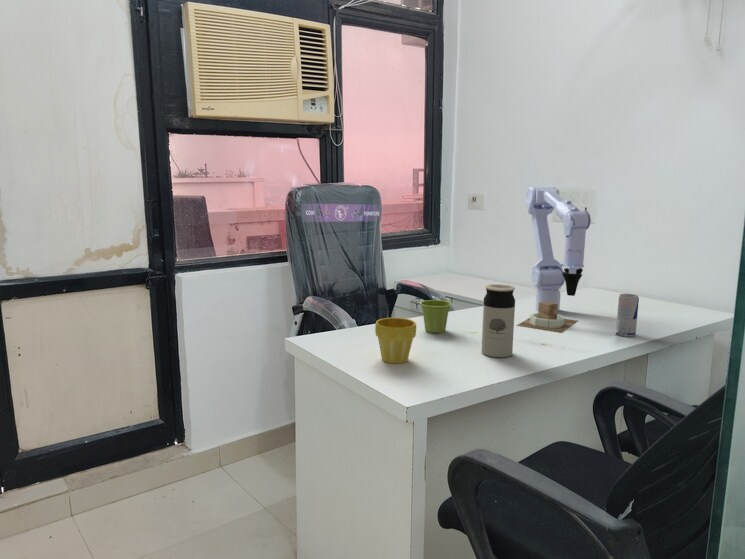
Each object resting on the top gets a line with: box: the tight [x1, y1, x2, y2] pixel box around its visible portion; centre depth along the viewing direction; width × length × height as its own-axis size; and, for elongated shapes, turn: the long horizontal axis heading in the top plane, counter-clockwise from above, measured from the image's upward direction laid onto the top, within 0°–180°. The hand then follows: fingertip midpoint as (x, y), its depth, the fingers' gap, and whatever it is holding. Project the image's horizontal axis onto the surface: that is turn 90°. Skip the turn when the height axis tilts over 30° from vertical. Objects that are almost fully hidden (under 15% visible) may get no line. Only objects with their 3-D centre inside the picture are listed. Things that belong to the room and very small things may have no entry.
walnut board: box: [515, 317, 579, 334], centre depth 173 cm, size 18×14×1 cm
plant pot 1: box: [374, 317, 417, 364], centre depth 139 cm, size 10×10×10 cm
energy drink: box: [615, 293, 640, 338], centre depth 163 cm, size 5×5×12 cm
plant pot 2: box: [419, 299, 452, 334], centre depth 166 cm, size 9×9×9 cm
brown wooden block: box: [537, 301, 559, 320], centre depth 172 cm, size 4×4×6 cm
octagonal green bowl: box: [529, 312, 566, 328], centre depth 172 cm, size 10×10×2 cm
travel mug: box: [481, 283, 516, 358], centre depth 144 cm, size 8×8×18 cm
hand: (571, 293), depth 173 cm, fingers open, 7 cm apart
